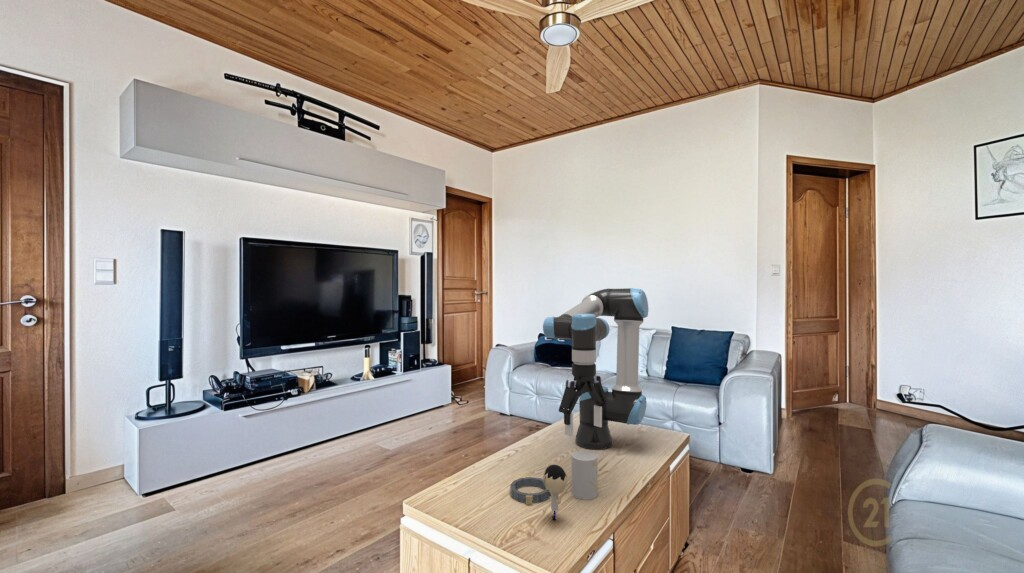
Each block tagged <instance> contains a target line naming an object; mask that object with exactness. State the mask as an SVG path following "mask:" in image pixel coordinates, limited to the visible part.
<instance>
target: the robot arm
mask: <svg viewBox="0 0 1024 573" xmlns="http://www.w3.org/2000/svg"><path fill="white" fill-rule="evenodd" d="M600 317H613V322H615V323H616V325H617V335H616V336H617V337H616V340H617V343H616V369H615V370H616V375H615V377H616V378H615V380H616V381H615V385H614V386H612V388H611V391H609V389H608V387H607V386H603V384H602V378H601V376H600V375H597V365H596V362H597V342H600V341H602V340H604V339H606V338H608V336H609V333H610V329H611V328H610V324H609V323H608V322H607V320H606V319H604V318H600ZM647 317H649V302H648V297H647V294H646V292H645V290H643V289H642V288H633V287H630V288H604V289H601V290H597V291H594V292H592V293H590V294H588V295H586V296H585V297H584V298H582V301H581V302H580V303H579V304H577V305H575V306H574V307H572V308H570V309H569V310H567V311H565V312H564V313H562V314H561V315H559V316H557V317H556V316H550V317H549V316H548V317H546V318H545V319H544V321H543V325H542V332H543V335H544V336H545V337H546V338H548V339H553V340H570V341H571V362H572V364H571V374H572V375H573V380H569V379H567V380H566V381H565V389H564V392H563V395H562V398H561V401H560V404H559V407H558V412H559V413H562V414H563V424H564V435H567V436H570V437H574V414H573V413H572V412H573V410H574V408H575V406H576V404H577V402H578V401H579V405H578V407H579V424H578V428H577V432H576V435H575V444H576V445H577V446H578V447H580V448H584V449H586V450H587V449H588V450H607V449H609V448H611V447H612V446H613V437H612V435H611V431H610V428H609V422H615V423H620V424H627V425H628V426H629V425H632V426H633V425H634V426H635V425H636V426H638V425H640V424H641V423H642V422H643V420H644V418H645V415H646V408H647V397H646V396H645V395H644V394H643V390H642V389H641V388H640V386H639V363H640V362H639V355H640V354H639V353H640V352H639V351H640V326H641V325H642V324H643V323H644V319H645V318H647Z"/></svg>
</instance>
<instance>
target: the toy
mask: <svg viewBox="0 0 1024 573" xmlns="http://www.w3.org/2000/svg"><path fill="white" fill-rule="evenodd" d="M542 479H543V482H544V485H545V487H546V489H547V490H548V491H549V492H550V493H551V496H550V500H551V501H550V508H551V511H552V512H553V515H552V516H551V518H552V521H556V520H557V518H556V514H557V511H559V505H560V504H561V501H562V500H561V499H560V497H559V495H561V494H562V493H563V492H564V491H565V490H566V487H567V485H568V477H567V473H566V472H565V470H564V468H563V467H561V466H560V465H558V464H550V465H549V466H547V467H546V468H545V470H544V472H543V476H542Z"/></svg>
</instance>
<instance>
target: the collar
mask: <svg viewBox="0 0 1024 573" xmlns="http://www.w3.org/2000/svg"><path fill="white" fill-rule="evenodd" d="M524 487H535V488H540V489H542V490H541V491H539V492H533V493H528V492H521V491H520V490H518V489H521V488H524ZM509 489H510V490H509V494H510V496H511V498H512V499H513V500H515V501H517V502H519V503H524V504H525V505H526V506H533V504H538V503H542V502H545V501H547V500H549V499H550V498H551V493H550V492H549V491H548V490H547V489H546V487H545V485H544V482H543V478H539V477H533V476H532V477H531V476H530V477H520V478H518V479H514V480H513V481H512V482H511V484H510V485H509Z"/></svg>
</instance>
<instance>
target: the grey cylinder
mask: <svg viewBox="0 0 1024 573" xmlns="http://www.w3.org/2000/svg"><path fill="white" fill-rule="evenodd" d="M598 459H599V458H598V455H597V453H595V452H594V451H589V450H576V451H573V452H572V453H571V458H570V460H571V462H570V463H571V464H570V465H571V467H570V468H571V472H570V474H571V480H570V481H571V483H570V484H571V495H572V496H573V497H574V498H575V499H578V500H582V501H590V500H594V499H596V498H597V497H598V494H599V492H598V491H599V490H598V489H599V485H598V484H599V483H598V482H599V481H598V478H599V476H598V475H599V474H598V471H599V470H598V468H599V467H598Z"/></svg>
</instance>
